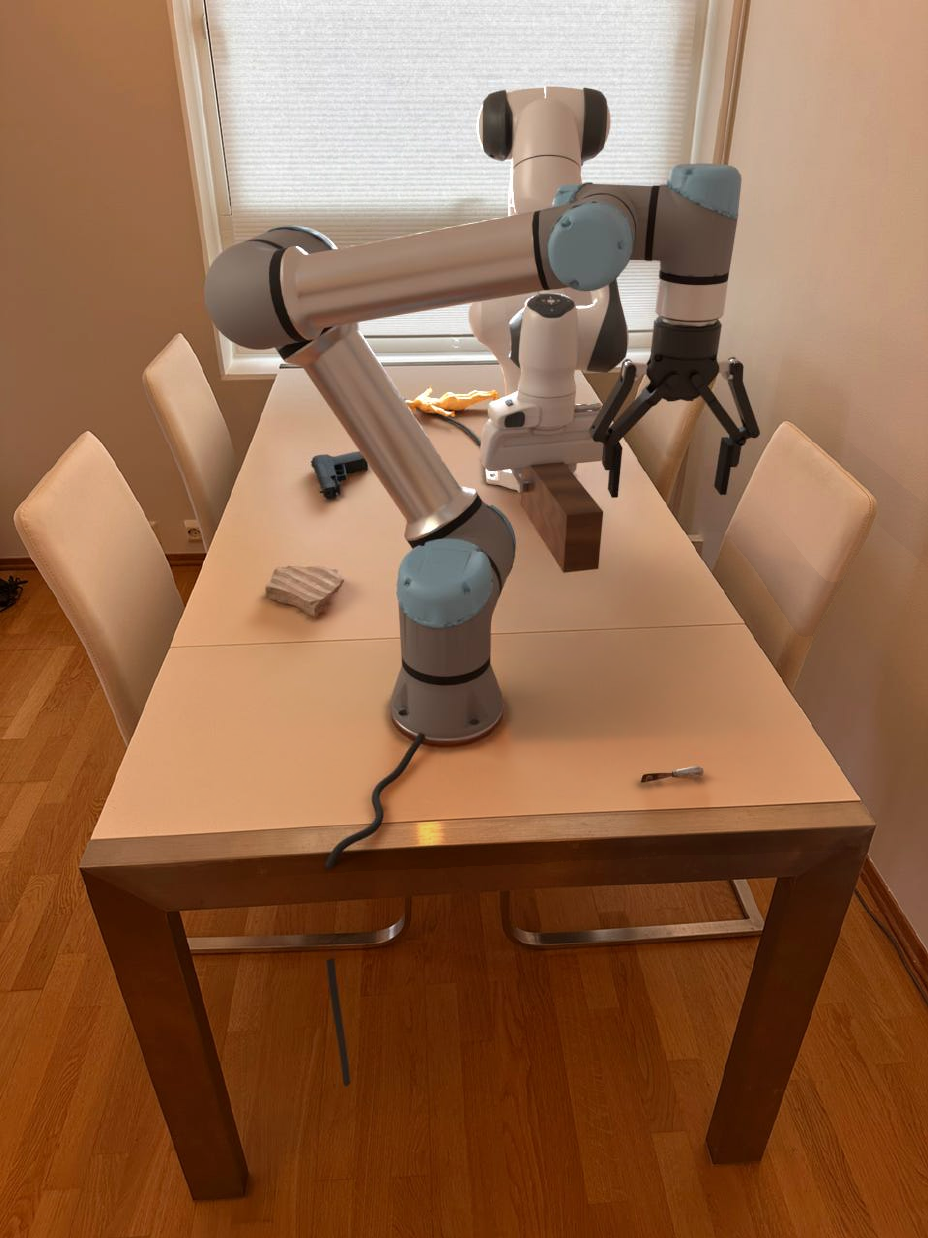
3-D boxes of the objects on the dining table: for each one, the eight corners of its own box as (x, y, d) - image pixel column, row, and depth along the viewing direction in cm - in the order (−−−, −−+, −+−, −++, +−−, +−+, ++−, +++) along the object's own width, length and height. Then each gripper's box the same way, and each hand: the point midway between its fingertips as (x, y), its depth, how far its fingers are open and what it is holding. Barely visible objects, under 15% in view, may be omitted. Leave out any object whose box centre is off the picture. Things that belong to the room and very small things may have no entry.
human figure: (395, 413, 223) (394, 398, 221) (438, 390, 237) (438, 375, 235) (462, 429, 215) (462, 413, 213) (502, 404, 229) (503, 388, 227)
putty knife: (703, 777, 109) (705, 767, 109) (642, 788, 108) (644, 777, 107) (700, 772, 110) (702, 762, 109) (639, 782, 109) (640, 771, 108)
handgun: (379, 494, 182) (320, 501, 179) (364, 462, 196) (309, 468, 193) (378, 480, 180) (319, 487, 178) (363, 448, 194) (308, 454, 192)
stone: (354, 583, 150) (352, 570, 149) (317, 618, 141) (316, 605, 140) (288, 570, 155) (286, 557, 153) (249, 603, 145) (246, 590, 144)
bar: (598, 568, 131) (603, 511, 126) (563, 573, 130) (567, 515, 125) (550, 501, 150) (553, 449, 145) (519, 505, 149) (521, 452, 144)
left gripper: (785, 308, 104) (754, 477, 115) (573, 311, 103) (563, 482, 114) (809, 324, 98) (774, 501, 109) (583, 328, 97) (572, 507, 108)
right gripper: (602, 395, 142) (596, 475, 149) (477, 405, 138) (477, 487, 145) (617, 408, 137) (609, 491, 144) (487, 419, 133) (486, 503, 140)
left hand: (666, 492), depth 112 cm, fingers open, 13 cm apart
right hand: (542, 489), depth 145 cm, fingers closed on bar, 5 cm apart
